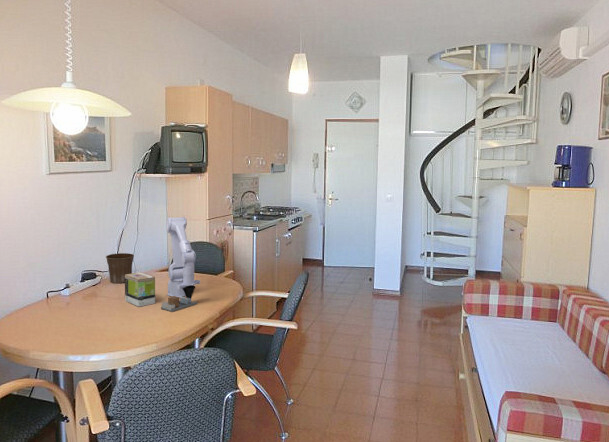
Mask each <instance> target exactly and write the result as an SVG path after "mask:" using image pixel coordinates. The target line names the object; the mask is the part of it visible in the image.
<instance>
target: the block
mask: <svg viewBox="0 0 609 442" xmlns="http://www.w3.org/2000/svg"><path fill="white" fill-rule="evenodd" d="M179 301H180V297H176V296H169V297H167V302H169V303H172V304H175V308H176V307H179Z"/></svg>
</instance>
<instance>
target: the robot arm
mask: <svg viewBox="0 0 609 442" xmlns="http://www.w3.org/2000/svg"><path fill="white" fill-rule="evenodd" d="M187 224H188V221H187V218H186V216H178V217H177V216H176V217H173V216H172V217H170V216H169V217H167V219H166V230H167V233H169V234H170V239H171V240H170V241H171V243H170V244H171V252H172V263H171V264H170V265H169V267H168V273H167V274H168V275H167V277H168V278H169V280H168V282H167V293H166V296H169V297H172V296H176V297H179V298H180V297H187V298H191V299H192V297H193V294H194V291H195V289H196V286H195V285H200V284H201V279H195V263H196V261H197V255H196V252H195V251H194V249H193V247H192V245H191V242H190V240H189V239H187V234H186V233H187V232H186V229H187Z"/></svg>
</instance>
